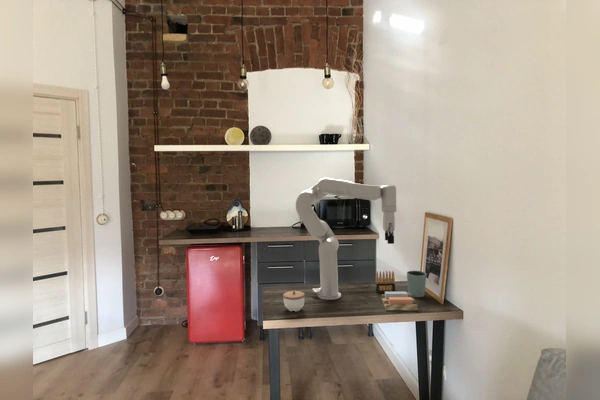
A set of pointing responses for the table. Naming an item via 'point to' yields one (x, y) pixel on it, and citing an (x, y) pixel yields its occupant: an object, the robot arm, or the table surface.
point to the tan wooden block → (401, 300)
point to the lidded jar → (294, 300)
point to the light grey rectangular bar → (396, 294)
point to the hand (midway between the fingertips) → (389, 241)
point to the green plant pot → (416, 283)
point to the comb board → (398, 305)
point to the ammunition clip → (385, 282)
